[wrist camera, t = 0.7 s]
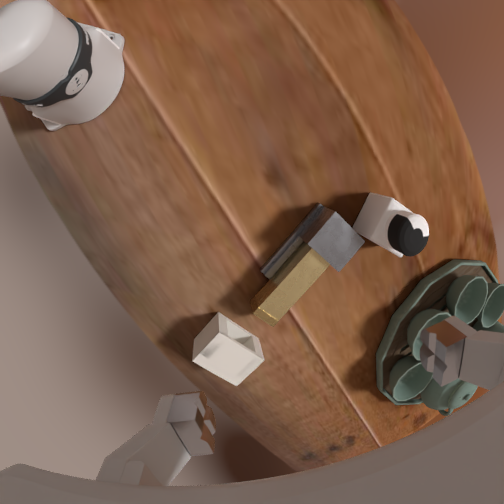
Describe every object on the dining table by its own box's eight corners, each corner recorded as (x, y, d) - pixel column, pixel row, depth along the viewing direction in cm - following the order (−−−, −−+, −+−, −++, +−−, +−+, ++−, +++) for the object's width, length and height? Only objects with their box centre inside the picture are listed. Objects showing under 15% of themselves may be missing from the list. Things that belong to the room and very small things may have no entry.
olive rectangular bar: (249, 301, 48) (252, 313, 44) (316, 226, 45) (325, 232, 41) (268, 314, 49) (272, 327, 45) (333, 242, 46) (343, 249, 42)
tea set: (482, 224, 52) (535, 244, 36) (490, 338, 64) (523, 365, 48) (348, 325, 53) (388, 377, 38) (389, 419, 66) (414, 459, 50)
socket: (194, 338, 50) (192, 361, 44) (218, 311, 49) (219, 332, 42) (233, 363, 52) (236, 386, 46) (258, 338, 51) (264, 360, 45)
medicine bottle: (380, 246, 49) (419, 269, 38) (350, 229, 47) (388, 249, 36) (398, 211, 47) (441, 225, 36) (369, 191, 46) (411, 201, 34)
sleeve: (259, 269, 47) (266, 284, 41) (318, 202, 45) (332, 208, 39) (295, 296, 50) (305, 313, 44) (350, 234, 48) (367, 244, 42)
